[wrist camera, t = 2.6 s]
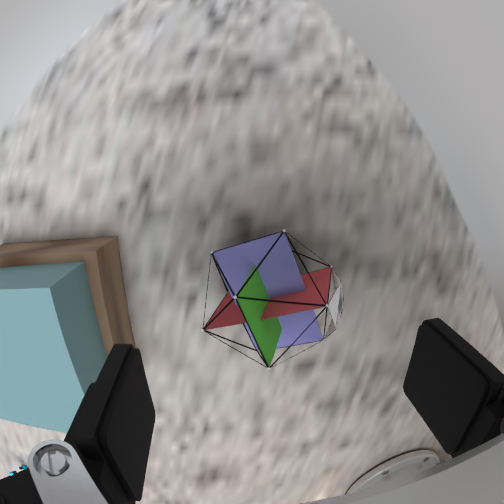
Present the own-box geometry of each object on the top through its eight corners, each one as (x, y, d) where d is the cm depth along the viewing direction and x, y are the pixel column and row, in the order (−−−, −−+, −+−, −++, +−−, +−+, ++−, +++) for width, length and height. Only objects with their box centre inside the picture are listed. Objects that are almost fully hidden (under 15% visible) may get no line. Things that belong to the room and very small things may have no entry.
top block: (84, 261, 15) (49, 287, 12) (120, 395, 18) (104, 437, 14) (-23, 269, 15) (-60, 290, 11) (17, 384, 17) (-7, 416, 13)
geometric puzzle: (207, 367, 19) (300, 411, 13) (156, 272, 17) (241, 281, 11) (282, 306, 23) (378, 319, 17) (247, 219, 21) (347, 205, 15)
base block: (119, 234, 19) (96, 251, 15) (141, 367, 22) (129, 401, 18) (5, 243, 18) (-27, 257, 15) (35, 359, 21) (13, 385, 17)
